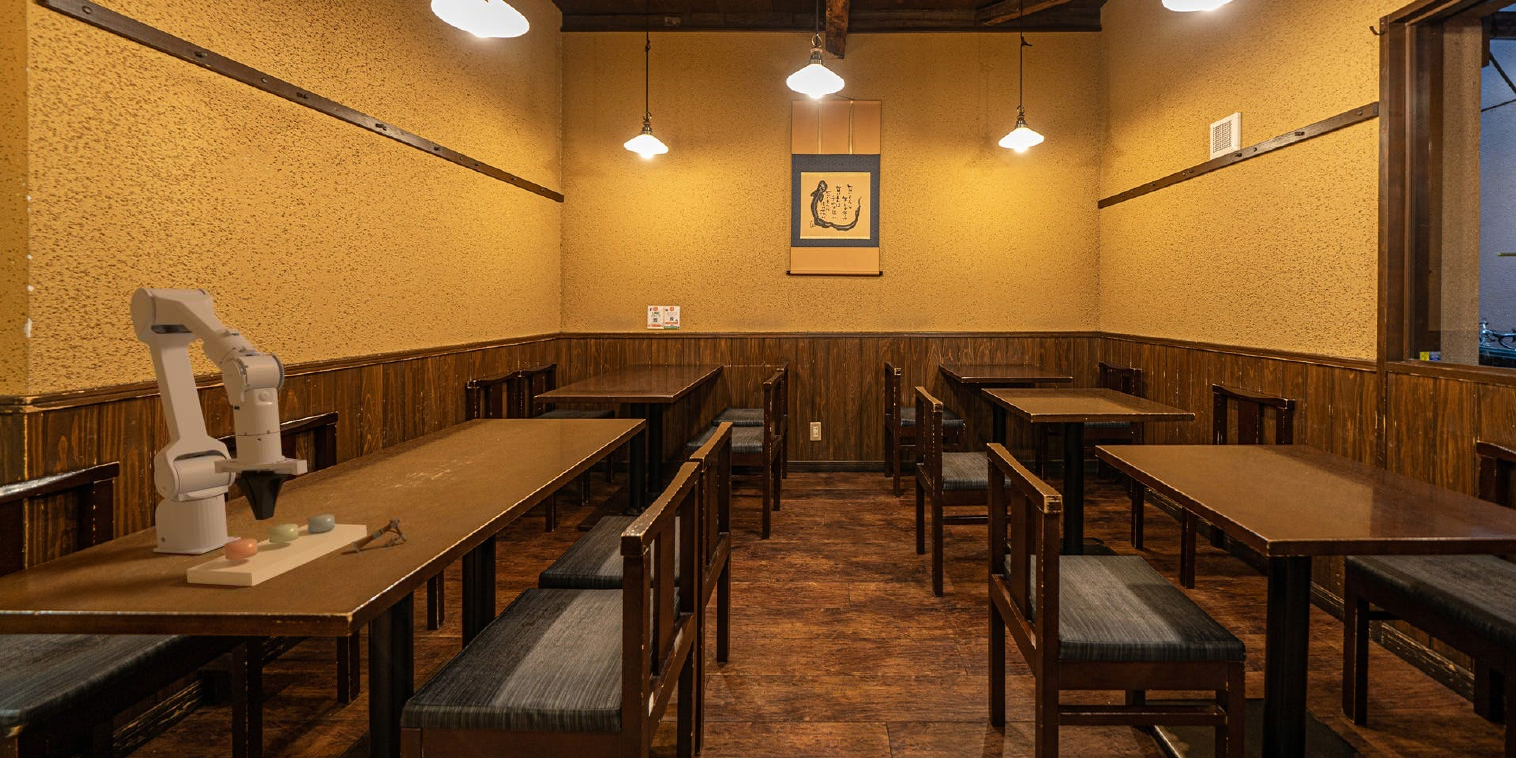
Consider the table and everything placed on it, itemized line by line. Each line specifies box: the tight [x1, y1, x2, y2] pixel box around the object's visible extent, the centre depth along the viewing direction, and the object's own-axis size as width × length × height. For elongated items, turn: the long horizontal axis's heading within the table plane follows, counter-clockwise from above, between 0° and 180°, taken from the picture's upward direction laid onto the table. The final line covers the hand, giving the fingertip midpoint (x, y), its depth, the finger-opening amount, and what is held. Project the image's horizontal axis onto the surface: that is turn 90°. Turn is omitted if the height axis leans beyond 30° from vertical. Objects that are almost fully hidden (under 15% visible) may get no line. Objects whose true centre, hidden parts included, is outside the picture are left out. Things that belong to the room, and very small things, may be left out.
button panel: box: [186, 523, 368, 587], centre depth 118 cm, size 11×24×2 cm, turn 170°
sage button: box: [268, 523, 299, 543], centre depth 118 cm, size 4×4×2 cm
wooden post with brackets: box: [351, 518, 408, 553], centre depth 123 cm, size 2×8×4 cm, turn 125°
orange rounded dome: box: [223, 538, 258, 560], centre depth 110 cm, size 4×4×2 cm
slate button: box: [306, 513, 336, 532], centre depth 126 cm, size 4×4×2 cm
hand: (264, 518), depth 114 cm, fingers closed
